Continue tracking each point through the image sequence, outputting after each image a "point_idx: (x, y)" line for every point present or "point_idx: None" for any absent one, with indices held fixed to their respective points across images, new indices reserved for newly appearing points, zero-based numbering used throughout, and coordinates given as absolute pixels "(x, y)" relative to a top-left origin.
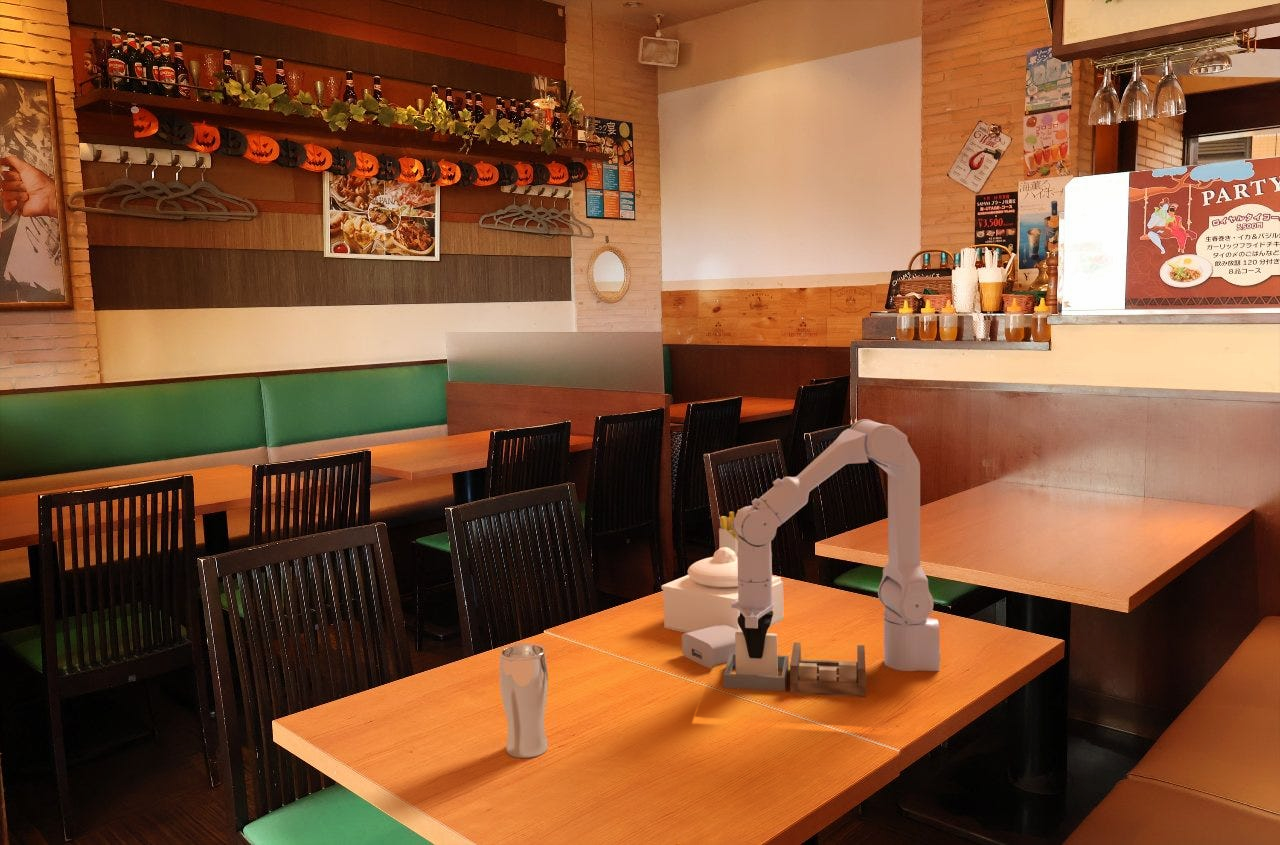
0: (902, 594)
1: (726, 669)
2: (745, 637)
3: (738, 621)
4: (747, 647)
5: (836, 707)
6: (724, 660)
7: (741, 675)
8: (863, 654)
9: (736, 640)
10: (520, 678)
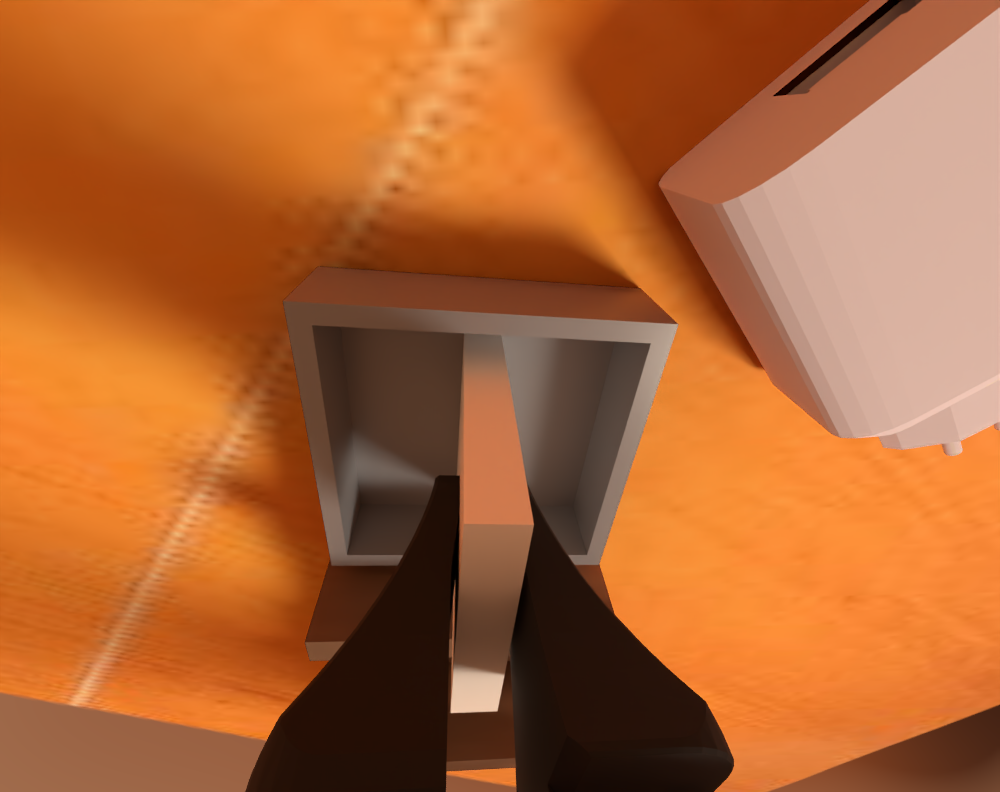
0: None
1: (384, 318)
2: (382, 593)
3: (265, 780)
4: (420, 522)
5: (293, 616)
6: (707, 262)
7: (306, 405)
8: (478, 767)
9: (464, 487)
10: None
